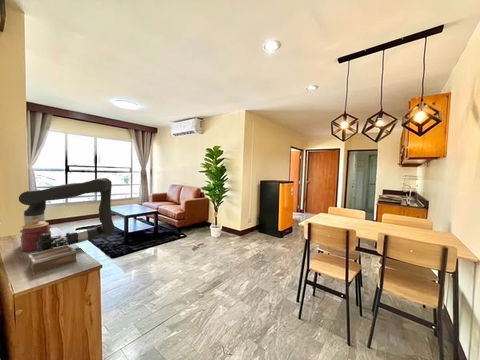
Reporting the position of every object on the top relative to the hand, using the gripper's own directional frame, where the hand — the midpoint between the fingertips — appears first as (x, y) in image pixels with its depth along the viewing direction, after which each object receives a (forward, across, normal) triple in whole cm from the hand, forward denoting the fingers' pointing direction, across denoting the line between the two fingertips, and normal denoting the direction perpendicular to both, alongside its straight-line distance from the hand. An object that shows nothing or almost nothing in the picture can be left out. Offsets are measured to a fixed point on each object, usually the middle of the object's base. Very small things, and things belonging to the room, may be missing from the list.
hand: (39, 245), depth 111 cm
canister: (-1, -16, +7) cm, 17 cm away
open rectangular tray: (-2, +15, +6) cm, 17 cm away
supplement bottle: (-2, 0, +7) cm, 7 cm away
